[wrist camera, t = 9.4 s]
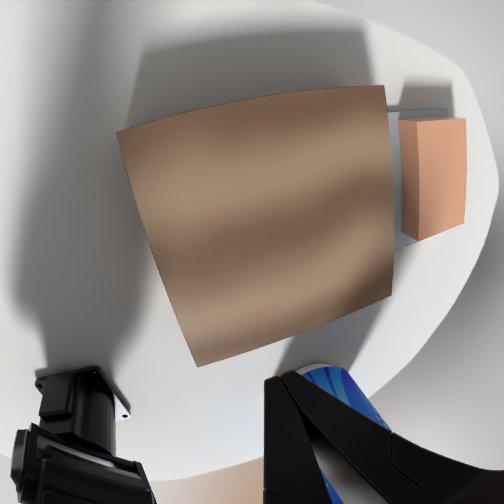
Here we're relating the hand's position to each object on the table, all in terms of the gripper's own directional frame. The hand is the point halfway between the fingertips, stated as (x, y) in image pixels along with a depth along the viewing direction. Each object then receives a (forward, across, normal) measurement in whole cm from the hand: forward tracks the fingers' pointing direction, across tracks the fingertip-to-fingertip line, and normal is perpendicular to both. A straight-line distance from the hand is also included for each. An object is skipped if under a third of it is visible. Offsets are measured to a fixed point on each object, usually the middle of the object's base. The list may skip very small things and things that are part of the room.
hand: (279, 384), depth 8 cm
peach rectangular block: (+11, -18, 0) cm, 21 cm away
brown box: (+13, -4, 0) cm, 14 cm away
